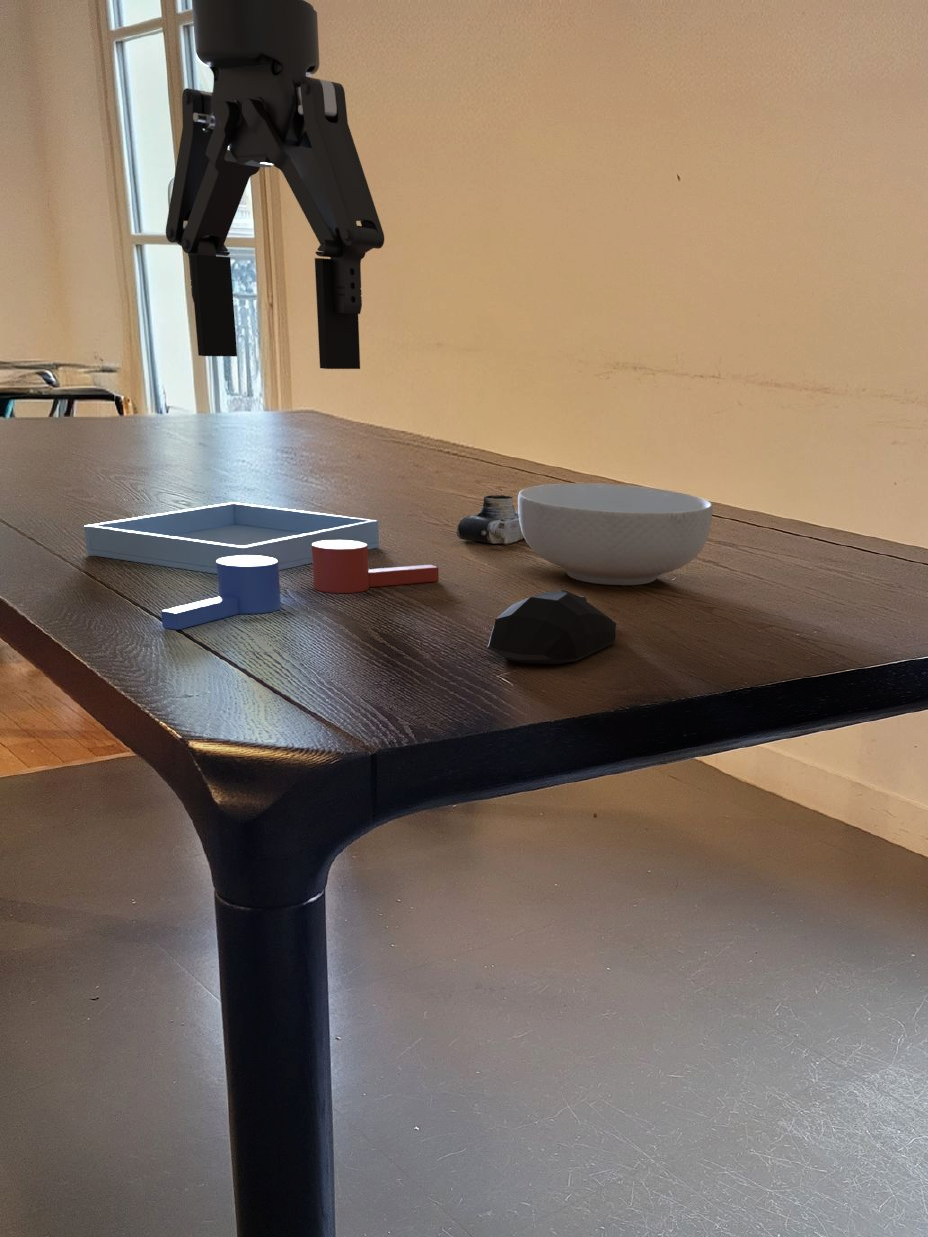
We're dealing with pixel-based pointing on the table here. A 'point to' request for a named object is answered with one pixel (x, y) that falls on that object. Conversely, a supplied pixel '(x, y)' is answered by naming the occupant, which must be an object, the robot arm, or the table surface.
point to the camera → (492, 522)
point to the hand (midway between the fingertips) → (276, 362)
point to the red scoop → (359, 569)
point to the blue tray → (224, 536)
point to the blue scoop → (233, 593)
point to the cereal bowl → (613, 530)
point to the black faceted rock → (551, 629)
